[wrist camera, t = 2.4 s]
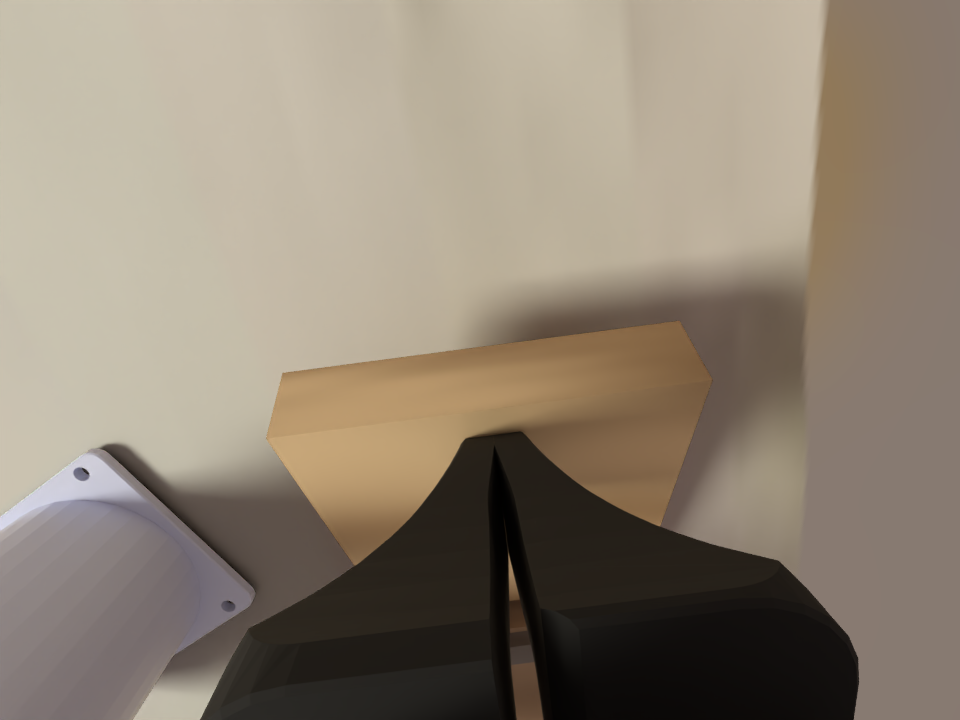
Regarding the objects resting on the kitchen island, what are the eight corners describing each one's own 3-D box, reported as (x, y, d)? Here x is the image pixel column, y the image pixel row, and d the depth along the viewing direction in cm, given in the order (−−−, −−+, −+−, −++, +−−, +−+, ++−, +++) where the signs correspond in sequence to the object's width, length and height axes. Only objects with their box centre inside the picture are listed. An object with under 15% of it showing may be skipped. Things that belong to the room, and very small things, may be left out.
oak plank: (624, 535, 19) (639, 583, 18) (391, 566, 19) (389, 616, 18) (679, 320, 11) (712, 380, 10) (283, 373, 11) (265, 438, 10)
